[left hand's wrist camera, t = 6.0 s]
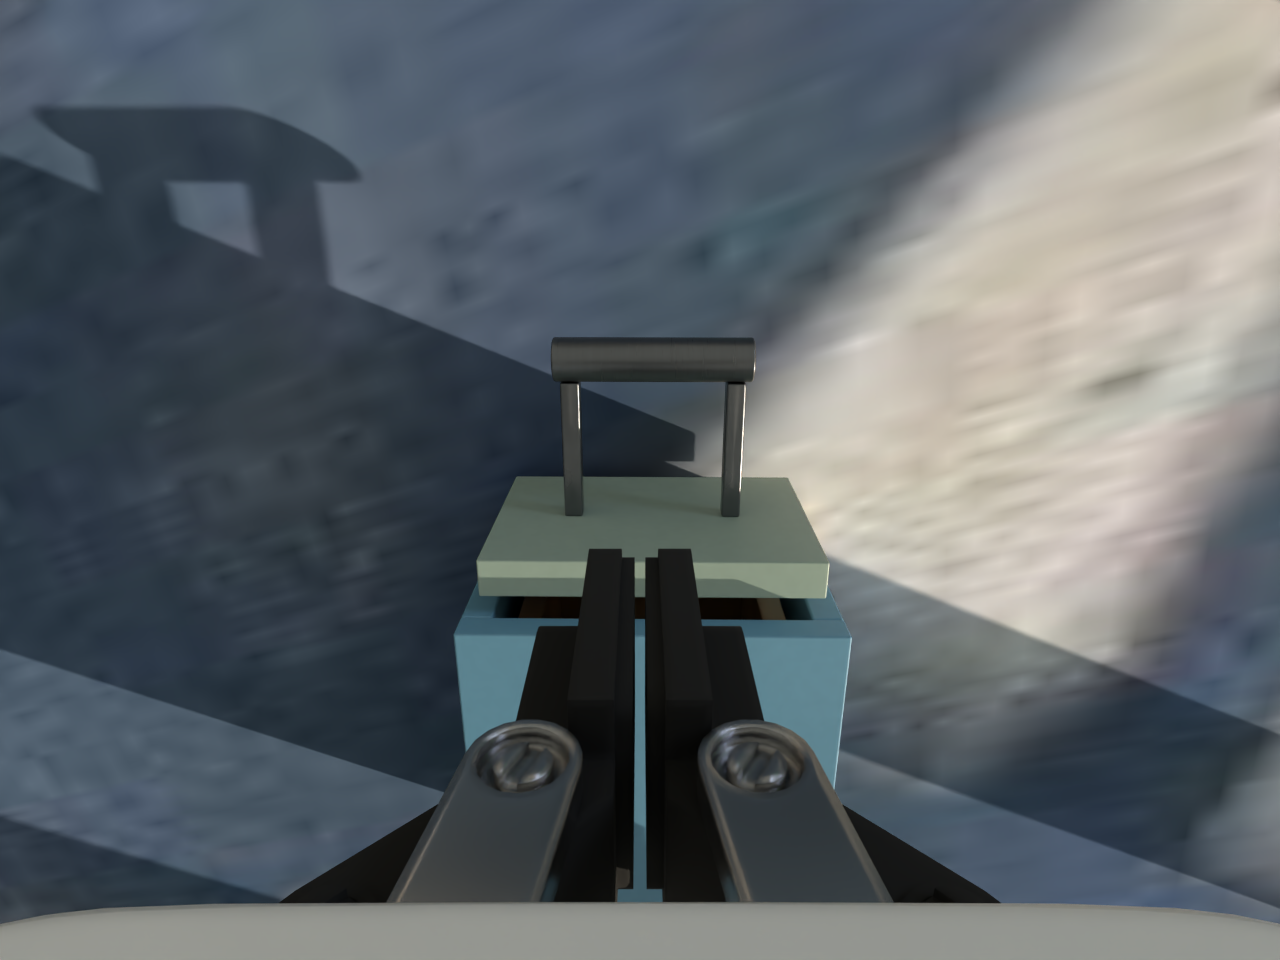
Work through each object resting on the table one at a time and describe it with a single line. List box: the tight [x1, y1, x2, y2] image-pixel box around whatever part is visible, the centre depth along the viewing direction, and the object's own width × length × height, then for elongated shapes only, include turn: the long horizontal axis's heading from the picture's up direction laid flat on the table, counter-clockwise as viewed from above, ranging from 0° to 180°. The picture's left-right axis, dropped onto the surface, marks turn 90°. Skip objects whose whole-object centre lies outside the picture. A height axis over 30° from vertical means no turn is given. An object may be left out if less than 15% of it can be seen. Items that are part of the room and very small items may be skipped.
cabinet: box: [453, 581, 852, 902], centre depth 29 cm, size 16×12×9 cm
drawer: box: [476, 337, 830, 620], centre depth 27 cm, size 21×10×7 cm, turn 0°
